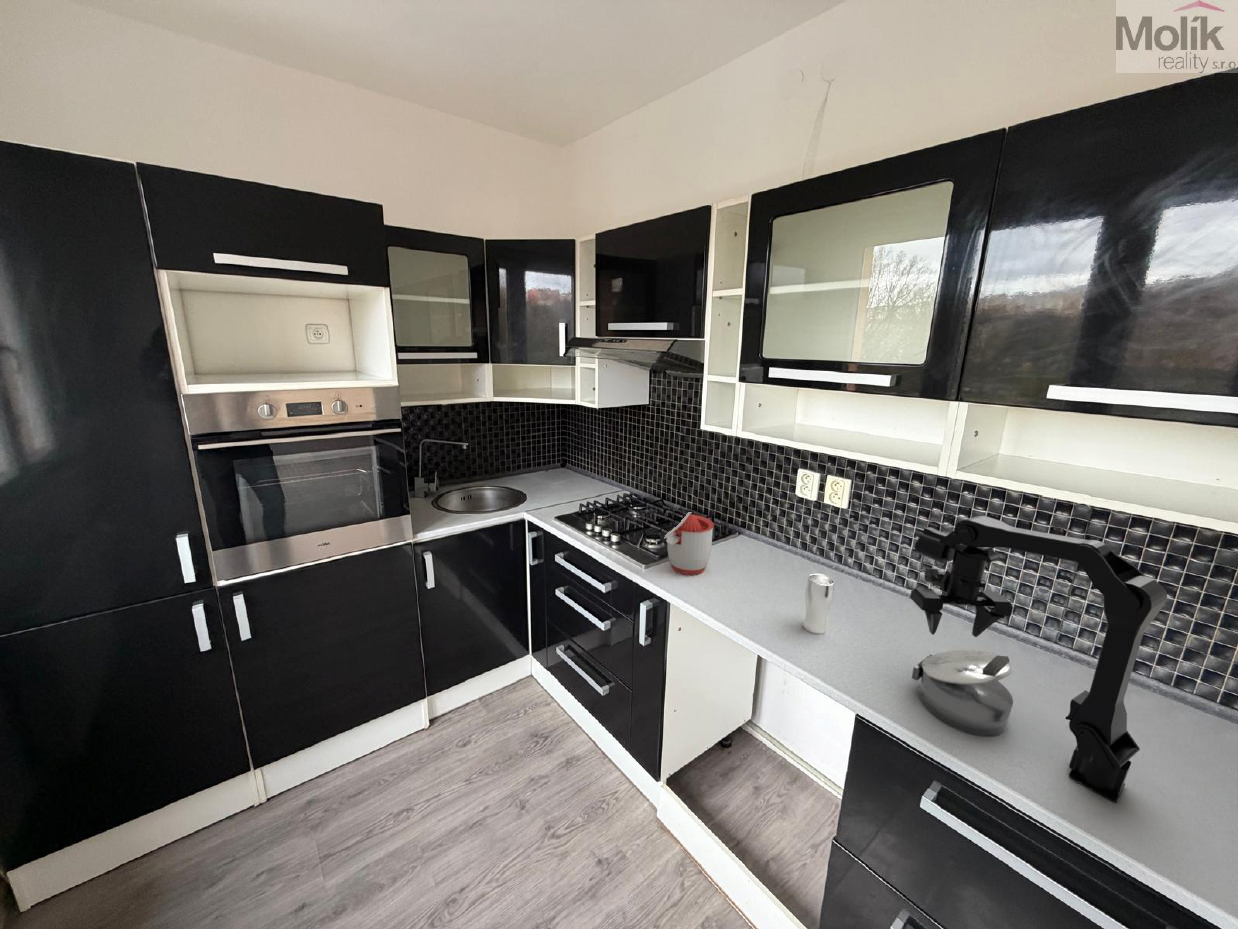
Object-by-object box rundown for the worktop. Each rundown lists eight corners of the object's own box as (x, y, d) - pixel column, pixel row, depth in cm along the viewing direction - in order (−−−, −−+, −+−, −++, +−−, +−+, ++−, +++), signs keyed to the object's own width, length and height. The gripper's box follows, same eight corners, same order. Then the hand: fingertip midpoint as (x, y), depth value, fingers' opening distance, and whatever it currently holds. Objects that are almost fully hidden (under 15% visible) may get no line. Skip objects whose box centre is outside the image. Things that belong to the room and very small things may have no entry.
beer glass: (832, 635, 131) (839, 585, 127) (807, 635, 131) (813, 585, 127) (821, 620, 138) (828, 573, 134) (797, 620, 138) (803, 572, 134)
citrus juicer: (652, 566, 168) (654, 513, 163) (687, 554, 178) (690, 503, 173) (684, 585, 156) (687, 527, 151) (720, 570, 166) (724, 516, 161)
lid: (1023, 659, 102) (1020, 650, 102) (994, 690, 93) (991, 679, 93) (939, 650, 115) (937, 642, 116) (907, 676, 107) (905, 667, 107)
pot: (1018, 714, 104) (1024, 691, 103) (989, 749, 95) (996, 724, 94) (931, 670, 118) (936, 649, 116) (899, 697, 109) (904, 674, 107)
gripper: (987, 557, 112) (973, 617, 116) (903, 554, 113) (893, 612, 117) (1022, 581, 101) (1005, 645, 105) (929, 576, 102) (917, 640, 106)
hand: (953, 634), depth 109 cm, fingers open, 9 cm apart
